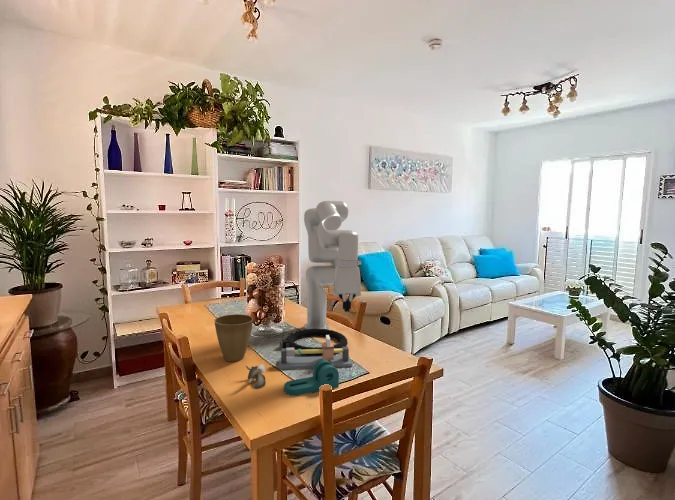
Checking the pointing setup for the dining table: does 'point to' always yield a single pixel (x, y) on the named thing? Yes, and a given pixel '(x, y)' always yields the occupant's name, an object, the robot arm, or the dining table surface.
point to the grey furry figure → (257, 376)
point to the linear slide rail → (311, 358)
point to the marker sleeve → (328, 349)
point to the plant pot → (233, 335)
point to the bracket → (314, 380)
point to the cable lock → (313, 332)
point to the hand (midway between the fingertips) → (346, 310)
